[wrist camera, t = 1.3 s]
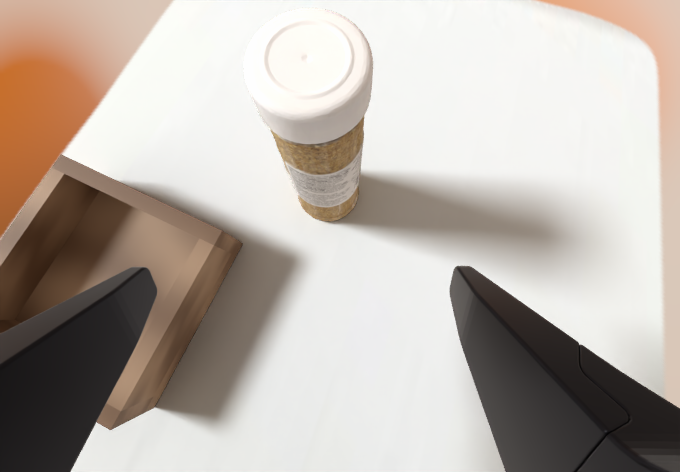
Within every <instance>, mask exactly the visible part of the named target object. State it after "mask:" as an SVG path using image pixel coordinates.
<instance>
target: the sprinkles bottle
mask: <svg viewBox="0 0 680 472" xmlns="http://www.w3.org/2000/svg"><path fill="white" fill-rule="evenodd" d="M372 75H373V58H372V53H371V49H370V46H369V43H368V41H367V39H366V38H365V36H364V34H363V33H362V32H361V30H360V29H359V28H358V27H357V26H356V25H355V24H354V23H352V22H351V21H350V20H349V19H347V18H345V17H344V16H342V15H340V14H338V13H335V12H332V11H329V10H325V9H318V8H302V9H296V10H292V11H288V12H285V13H283V14H280V15H278V16H276V17H275V18H273V19H271V20H270V21H268V22H267V23H266V24H265V25H263V26H262V27H261V28H260V29H259V30H258V31H257V32H256V34H255V35H254V36H253V38H252V40H251V42H250V44H249V46H248V48H247V51H246V54H245V59H244V77H245V81H246V84H247V88H248V90H249V93H250V95H251V97H252V100H253V102H254V104H255V106H256V109H257V111H258V113H259V115H260V117H261V119H262V120H263V122H264V123H265V124H266V125H267V126H268V127H269V128H270V130H271V132H272V134H273V136H274V139H275V141H276V144H277V147H278V150H279V152H280V154H281V156H282V159H283V161H284V165H285V168H286V171H287V173H288V175H289V177H290V180H291V182H292V184H293V187H294V189H295V191H296V192H297V194H298V199H299V202H300V204H301V206H302V207H303V209H304V210H305V211H306V212H307V213H308V214H309V215H311V216H312V217H313V218H315V219H319V220H322V221H334V220H339V219H341V218H343V217H345V216H346V215H347V214H349V213H350V212H351V210H352V209H353V208H354V207H355V205H356V202H357V200H358V194H359V188H358V183H359V179H360V169H361V158H362V148H363V139H364V131H363V126H364V114H365V113H366V111H367V108H368V106H369V102H370V97H371V89H372Z"/></svg>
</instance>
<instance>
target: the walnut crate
mask: <svg viewBox="0 0 680 472" xmlns="http://www.w3.org/2000/svg"><path fill="white" fill-rule="evenodd" d="M242 245H243V243H241V242H240V241H238V240H236V239H235V238H233V237H232V236H230V235H229V234H227V233H225V232H224V231H222V230H220V229H218V228H216V227H214V226H212V225H209V224H207V223H205V222H203V221H201V220H199V219H197V218H195V217H192V216H190V215H188V214H186V213H184V212H182V211H180V210H178V209H175V208H173V207H171V206H169V205H167V204H165V203H163V202H161V201H159V200H156V199H154V198H152V197H150V196H148V195H146V194H144V193H142V192H139V191H137V190H135V189H133V188H131V187H129V186H127V185H125V184H122V183H120V182H118V181H116V180H114V179H112V178H110V177H108V176H105V175H103V174H101V173H99V172H97V171H95V170H93V169H91V168H89V167H86V166H84V165H82V164H80V163H78V162H76V161H74V160H72V159H69V158H67V157H65V156H63V155H60V157H59V158H58V159H57V161H56V162H55V164H54V165H53V166H52V168H51V169H50V171H49V172H48V174H47V175H46V176H45V178H44V179H43V181H42V182H41V184H40V185H39V186H38V188H37V189H36V191H35V192H34V193H33V195H32V196H31V198H30V199H29V201H28V202H27V203H26V205H25V206H24V208H23V209H22V210H21V212H20V213H19V215H18V216H17V218H16V219H15V220H14V222H13V223H12V225H11V226H10V228H9V229H8V230H7V232H6V233H5V235H4V236H3V237H2V239H1V240H0V334H1V333H3V332H5V331H7V330H9V329H11V328H13V327H15V326H17V325H18V324H20V323H22V322H24V321H26V320H28V319H30V318H32V317H34V316H36V315H38V314H40V313H42V312H44V311H46V310H48V309H50V308H52V307H54V306H56V305H58V304H60V303H62V302H64V301H66V300H68V299H70V298H71V297H73V296H75V295H77V294H79V293H81V292H83V291H85V290H87V289H89V288H91V287H93V286H95V285H97V284H99V283H101V282H103V281H105V280H107V279H109V278H111V277H113V276H115V275H117V274H119V273H121V272H123V271H124V270H126V269H128V268H131V267H147V268H148V269H149V270H150V272H151V275H152V277H153V280H154V282H155V284H156V287H157V296H156V299H155V301H154V304H153V306H152V309H151V311H150V314H149V317H148V319H147V322H146V324H145V327H144V329H143V332H142V334H141V336H140V339H139V341H138V343H137V345H136V347H135V349H134V351H133V353H132V355H131V357H130V359H129V361H128V363H127V365H126V366H125V368H124V370H123V372H122V374H121V376H120V378H119V380H118V382H117V384H116V386H115V387H114V389H113V391H112V393H111V395H110V397H109V399H108V401H107V403H106V405H105V407H104V408H103V410H102V412H101V414H100V416H99V418H98V420H97V423H99V424H101V425H102V426H104V427H106V428H108V429H109V430H112V429H114V428H116V427H118V426H119V425H121V424H123V423H125V422H127V421H129V420H131V419H133V418H135V417H137V416H139V415H141V414H143V413H145V412H147V411H149V410H151V409H153V408H154V407H155V406H156V404H157V402H158V400H159V398H160V396H161V394H162V393H163V391H164V389H165V387H166V385H167V383H168V382H169V380H170V378H171V376H172V374H173V372H174V370H175V369H176V367H177V365H178V363H179V361H180V359H181V357H182V356H183V354H184V352H185V350H186V348H187V346H188V345H189V343H190V341H191V339H192V337H193V335H194V333H195V332H196V330H197V328H198V326H199V324H200V322H201V321H202V319H203V317H204V315H205V313H206V311H207V309H208V308H209V306H210V304H211V302H212V300H213V298H214V297H215V295H216V293H217V291H218V289H219V287H220V285H221V284H222V282H223V280H224V278H225V276H226V274H227V272H228V271H229V269H230V267H231V265H232V263H233V261H234V260H235V258H236V256H237V254H238V252H239V250H240V248H241V247H242Z"/></svg>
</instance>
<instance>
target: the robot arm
mask: <svg viewBox="0 0 680 472" xmlns="http://www.w3.org/2000/svg"><path fill="white" fill-rule="evenodd" d="M156 296H157V287H156V284H155V282H154V280H153V277H152V275H151V272H150V270H149V269H148V268H147V267H131V268H128V269H126V270H124V271H123V272H121V273H119V274H117V275H115V276H113V277H111V278H109V279H107V280H105V281H103V282H101V283H99V284H97V285H95V286H93V287H91V288H89V289H87V290H85V291H83V292H81V293H79V294H77V295H75V296H73V297H71V298H70V299H68V300H66V301H64V302H62V303H60V304H58V305H56V306H54V307H52V308H50V309H48V310H46V311H44V312H42V313H40V314H38V315H36V316H34V317H32V318H30V319H28V320H26V321H24V322H22V323H20V324H18V325H17V326H15V327H13V328H11V329H9V330H7V331H5V332H3V333H1V334H0V472H70V471H71V470H72V468H73V466H74V464H75V462H76V460H77V458H78V456H79V454H80V452H81V450H82V449H83V447H84V445H85V443H86V441H87V439H88V437H89V435H90V433H91V431H92V429H93V428H94V426H95V424H96V422H97V420H98V418H99V416H100V414H101V412H102V410H103V408H104V407H105V405H106V403H107V401H108V399H109V397H110V395H111V393H112V391H113V389H114V387H115V386H116V384H117V382H118V380H119V378H120V376H121V374H122V372H123V370H124V368H125V366H126V365H127V363H128V361H129V359H130V357H131V355H132V353H133V351H134V349H135V347H136V345H137V343H138V341H139V339H140V336H141V334H142V332H143V329H144V327H145V324H146V322H147V319H148V317H149V314H150V311H151V309H152V306H153V304H154V301H155V299H156ZM450 298H451V302H452V307H453V311H454V316H455V320H456V325H457V329H458V334H459V338H460V342H461V345H462V348H463V351H464V354H465V357H466V360H467V363H468V366H469V368H470V371H471V374H472V377H473V380H474V383H475V386H476V388H477V391H478V394H479V397H480V400H481V403H482V405H483V408H484V411H485V414H486V417H487V420H488V423H489V425H490V428H491V431H492V434H493V437H494V440H495V442H496V445H497V448H498V451H499V454H500V457H501V460H502V462H503V465H504V468H505V471H506V472H680V408H678V407H676V406H675V405H673V404H672V403H670V402H668V401H667V400H665V399H664V398H662V397H660V396H659V395H657V394H656V393H654V392H652V391H651V390H649V389H647V388H646V387H644V386H643V385H641V384H640V383H638V382H636V381H635V380H633V379H632V378H630V377H629V376H627V375H626V374H624V373H622V372H621V371H619V370H618V369H616V368H615V367H613V366H612V365H610V364H609V363H608V362H606V361H605V360H603V359H602V358H600V357H599V356H597V355H596V354H594V353H593V352H592V351H590V350H589V349H587V348H586V347H584V346H583V345H579V343H578V342H577V341H576V340H574V339H573V338H572V337H570V336H569V335H567V334H566V333H564V332H563V331H562V330H560V329H559V328H557V327H556V326H554V325H553V324H552V323H550V322H549V321H547V320H546V319H545V318H543V317H542V316H540V315H539V314H537V313H536V312H535V311H533V310H532V309H530V308H529V307H527V306H526V305H525V304H523V303H522V302H520V301H519V300H518V299H516V298H515V297H513V296H512V295H510V294H509V293H508V292H506V291H505V290H503V289H502V288H500V287H499V286H498V285H496V284H495V283H493V282H492V281H491V280H489V279H488V278H486V277H485V276H483V275H482V274H481V273H479V272H478V271H476V270H475V269H474V268H472V267H470V266H457V267H455V269H454V271H453V276H452V280H451V285H450Z"/></svg>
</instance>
